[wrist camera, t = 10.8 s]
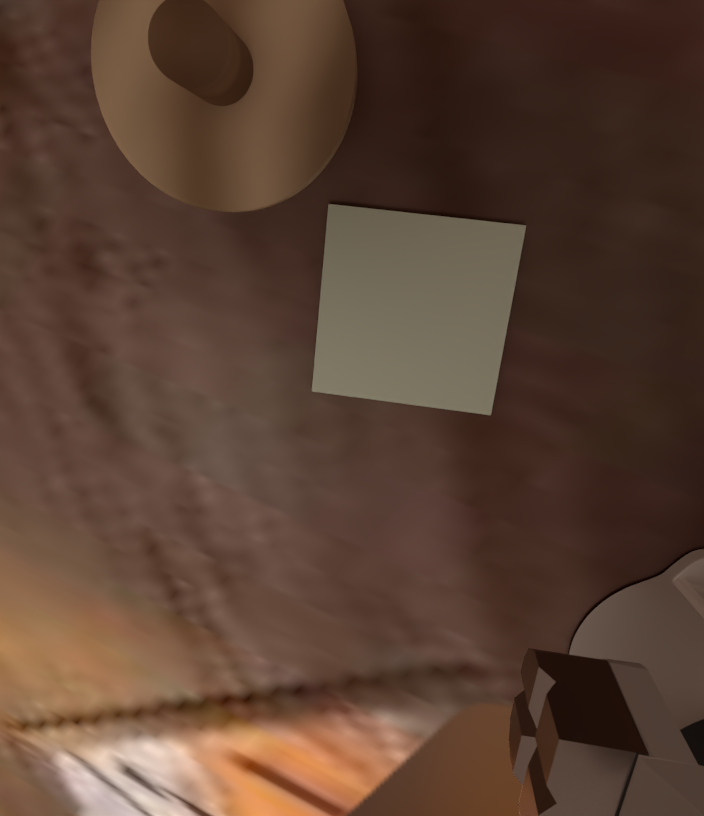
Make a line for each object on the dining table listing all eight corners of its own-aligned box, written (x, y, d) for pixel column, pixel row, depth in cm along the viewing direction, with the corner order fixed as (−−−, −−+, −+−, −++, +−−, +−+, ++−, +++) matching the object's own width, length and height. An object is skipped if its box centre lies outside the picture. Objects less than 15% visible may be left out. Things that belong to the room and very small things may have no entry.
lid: (372, -70, 25) (360, -146, 20) (343, 225, 28) (328, 223, 23) (101, -90, 26) (26, -167, 21) (107, 198, 29) (43, 191, 24)
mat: (524, 225, 35) (526, 225, 35) (489, 412, 39) (490, 415, 38) (329, 204, 36) (328, 203, 36) (313, 389, 40) (311, 391, 39)
